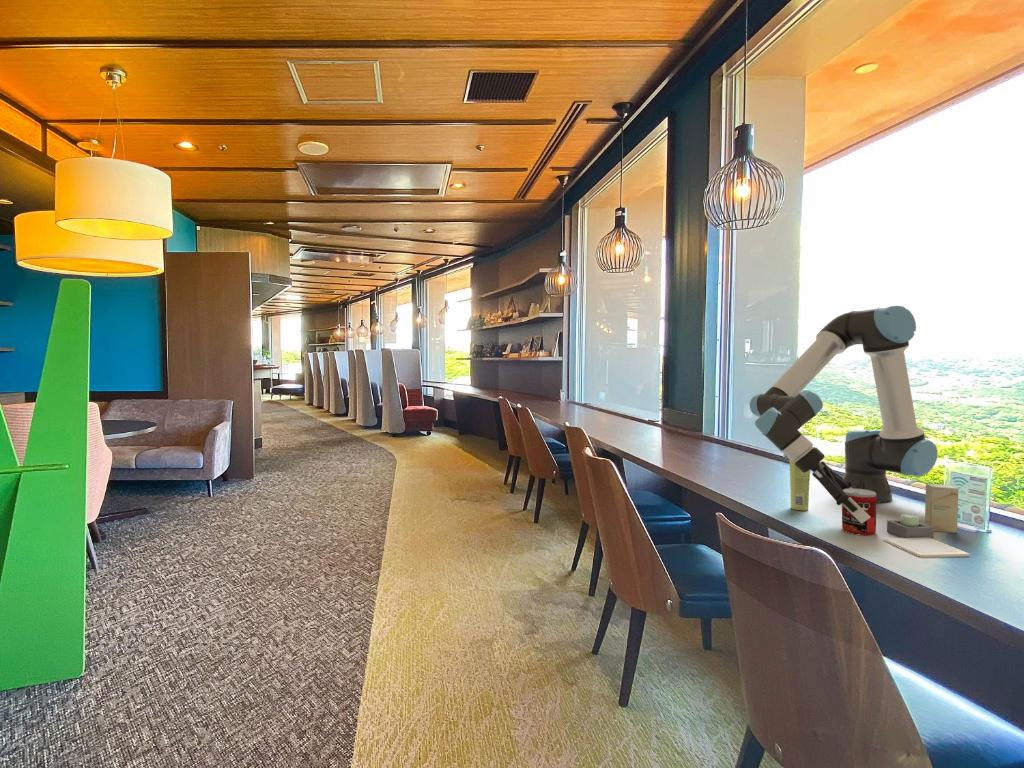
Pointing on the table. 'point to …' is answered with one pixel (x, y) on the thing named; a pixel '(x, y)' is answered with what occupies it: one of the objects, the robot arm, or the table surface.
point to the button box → (909, 530)
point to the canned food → (868, 504)
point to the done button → (909, 520)
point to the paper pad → (926, 547)
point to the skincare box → (941, 507)
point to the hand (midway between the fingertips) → (866, 514)
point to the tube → (799, 487)
